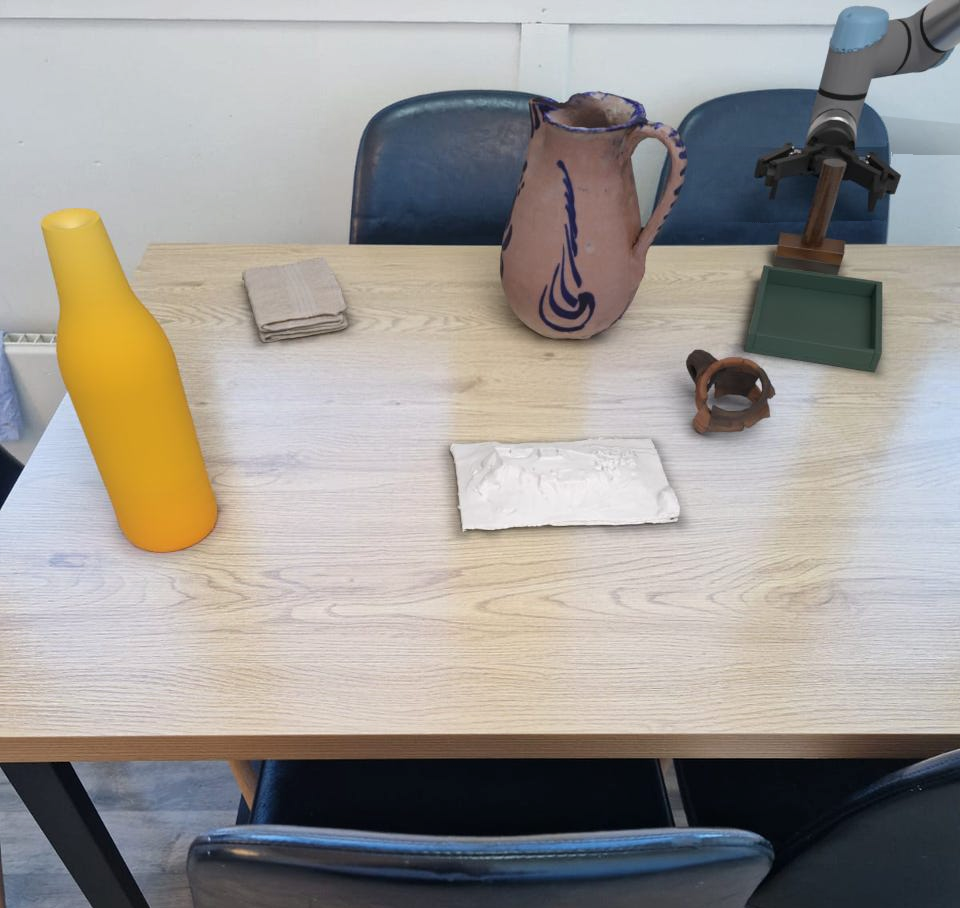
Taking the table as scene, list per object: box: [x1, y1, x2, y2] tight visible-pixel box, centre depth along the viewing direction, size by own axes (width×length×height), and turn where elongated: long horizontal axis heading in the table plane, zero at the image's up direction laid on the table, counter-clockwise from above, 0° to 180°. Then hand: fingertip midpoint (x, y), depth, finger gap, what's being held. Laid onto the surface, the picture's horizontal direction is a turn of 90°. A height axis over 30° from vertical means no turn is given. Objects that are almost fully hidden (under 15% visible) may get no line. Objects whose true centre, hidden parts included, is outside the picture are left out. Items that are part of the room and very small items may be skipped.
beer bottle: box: [40, 207, 218, 553], centre depth 74 cm, size 9×9×29 cm
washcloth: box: [241, 257, 349, 343], centre depth 113 cm, size 12×18×3 cm, turn 19°
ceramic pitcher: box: [499, 90, 688, 340], centre depth 102 cm, size 18×21×25 cm
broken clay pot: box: [685, 349, 776, 434], centre depth 96 cm, size 12×10×8 cm
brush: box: [772, 159, 847, 276], centre depth 119 cm, size 9×4×14 cm, turn 72°
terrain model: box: [449, 436, 681, 533], centre depth 88 cm, size 17×23×5 cm
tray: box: [744, 265, 883, 373], centre depth 111 cm, size 16×20×2 cm
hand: (823, 195), depth 121 cm, fingers open, 13 cm apart
